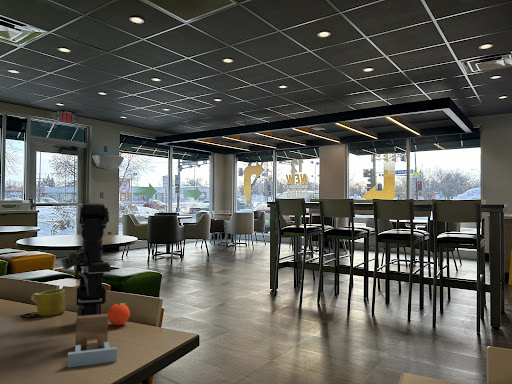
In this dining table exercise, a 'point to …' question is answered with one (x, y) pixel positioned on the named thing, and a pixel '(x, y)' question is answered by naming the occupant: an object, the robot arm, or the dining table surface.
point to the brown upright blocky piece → (91, 331)
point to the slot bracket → (92, 356)
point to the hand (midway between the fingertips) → (90, 296)
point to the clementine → (118, 314)
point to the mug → (49, 302)
